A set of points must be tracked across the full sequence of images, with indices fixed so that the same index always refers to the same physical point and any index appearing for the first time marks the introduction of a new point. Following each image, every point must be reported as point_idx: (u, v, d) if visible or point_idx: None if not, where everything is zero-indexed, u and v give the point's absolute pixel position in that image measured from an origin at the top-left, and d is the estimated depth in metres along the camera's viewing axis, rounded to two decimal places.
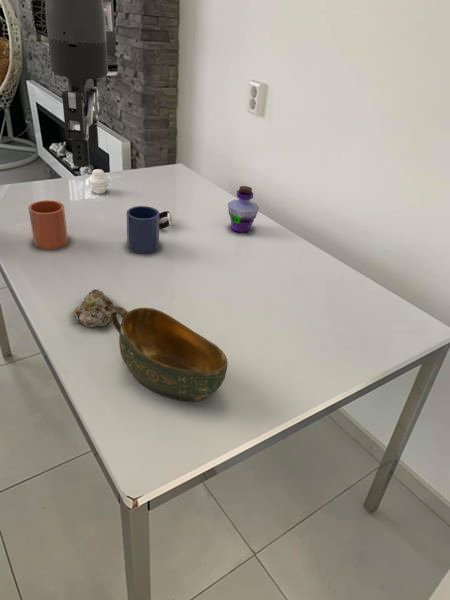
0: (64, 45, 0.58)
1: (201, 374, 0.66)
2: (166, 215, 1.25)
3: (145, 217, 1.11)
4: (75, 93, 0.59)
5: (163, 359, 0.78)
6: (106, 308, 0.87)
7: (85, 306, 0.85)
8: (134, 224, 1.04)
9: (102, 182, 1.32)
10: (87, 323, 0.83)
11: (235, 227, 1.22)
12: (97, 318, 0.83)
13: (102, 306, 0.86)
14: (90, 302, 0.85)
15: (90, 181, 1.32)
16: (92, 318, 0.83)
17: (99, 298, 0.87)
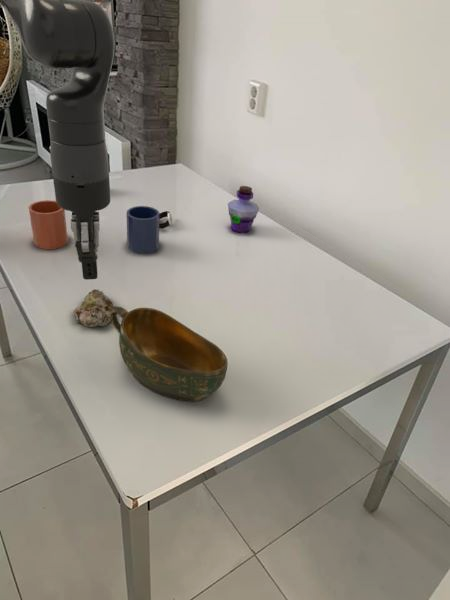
0: (72, 186, 0.60)
1: (201, 374, 0.66)
2: (166, 215, 1.25)
3: (145, 217, 1.11)
4: (88, 245, 0.63)
5: (163, 359, 0.78)
6: (106, 308, 0.87)
7: (85, 306, 0.85)
8: (134, 224, 1.04)
9: None
10: (87, 323, 0.83)
11: (235, 227, 1.22)
12: (97, 318, 0.83)
13: (102, 306, 0.86)
14: (90, 302, 0.85)
15: None
16: (92, 318, 0.83)
17: (99, 298, 0.87)
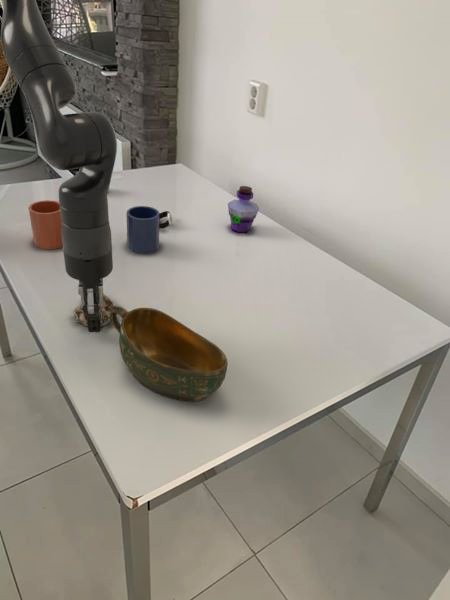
0: (80, 261, 0.70)
1: (201, 374, 0.66)
2: (166, 215, 1.25)
3: (145, 217, 1.11)
4: (93, 309, 0.72)
5: (163, 359, 0.78)
6: (106, 308, 0.87)
7: None
8: (134, 224, 1.04)
9: None
10: (87, 323, 0.83)
11: (235, 227, 1.22)
12: None
13: (102, 306, 0.86)
14: None
15: None
16: None
17: None
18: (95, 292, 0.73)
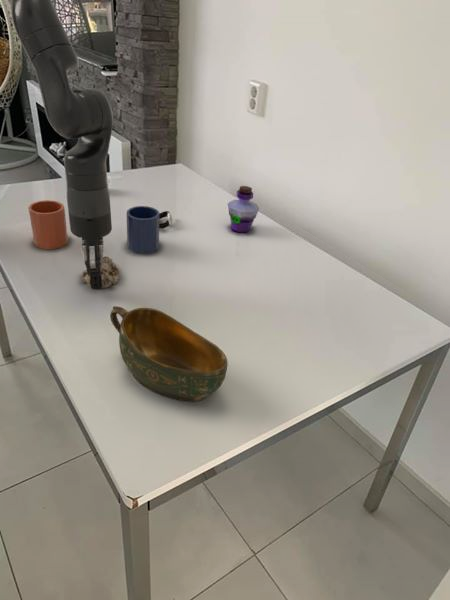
0: (83, 220, 0.80)
1: (201, 374, 0.66)
2: (166, 215, 1.25)
3: (145, 217, 1.11)
4: (95, 263, 0.83)
5: (163, 359, 0.78)
6: (110, 273, 0.97)
7: None
8: (134, 224, 1.04)
9: None
10: None
11: (235, 227, 1.22)
12: None
13: (107, 271, 0.97)
14: None
15: None
16: None
17: (106, 263, 0.98)
18: (96, 249, 0.83)
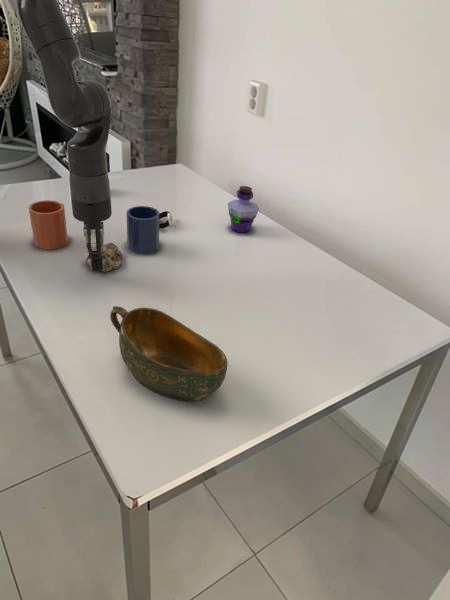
0: (84, 204, 0.86)
1: (201, 374, 0.66)
2: (166, 215, 1.25)
3: (145, 217, 1.11)
4: (96, 245, 0.88)
5: (163, 359, 0.78)
6: (113, 258, 1.02)
7: None
8: (134, 224, 1.04)
9: None
10: (91, 266, 0.99)
11: (235, 227, 1.22)
12: None
13: (109, 256, 1.02)
14: None
15: None
16: None
17: (110, 249, 1.03)
18: (97, 232, 0.89)
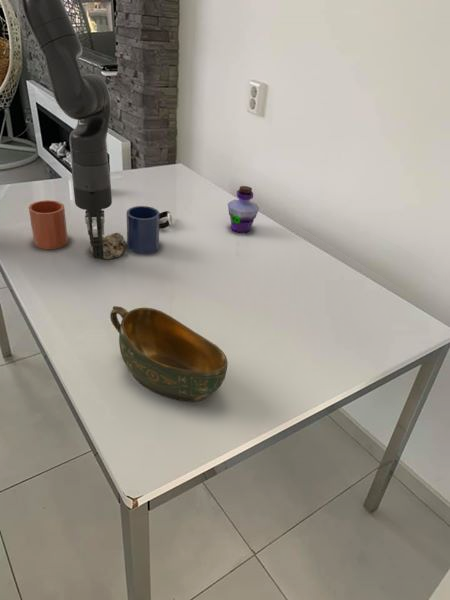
0: (86, 193, 0.90)
1: (201, 374, 0.66)
2: (166, 215, 1.25)
3: (145, 217, 1.11)
4: (97, 232, 0.93)
5: (163, 359, 0.78)
6: (115, 247, 1.06)
7: None
8: (134, 224, 1.04)
9: None
10: None
11: (235, 227, 1.22)
12: None
13: (112, 244, 1.06)
14: (103, 238, 1.06)
15: None
16: None
17: (113, 238, 1.07)
18: (98, 219, 0.93)
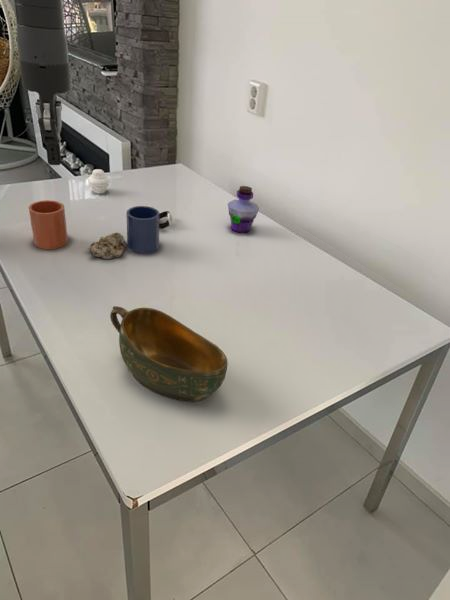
0: (35, 67, 0.70)
1: (201, 374, 0.66)
2: (166, 215, 1.25)
3: (145, 217, 1.11)
4: (49, 121, 0.73)
5: (163, 359, 0.78)
6: (115, 247, 1.06)
7: (99, 240, 1.06)
8: (134, 224, 1.04)
9: (102, 182, 1.32)
10: (93, 252, 1.04)
11: (235, 227, 1.22)
12: (101, 251, 1.04)
13: (112, 244, 1.06)
14: (103, 238, 1.06)
15: (90, 181, 1.32)
16: (97, 249, 1.03)
17: (113, 238, 1.07)
18: (51, 106, 0.73)
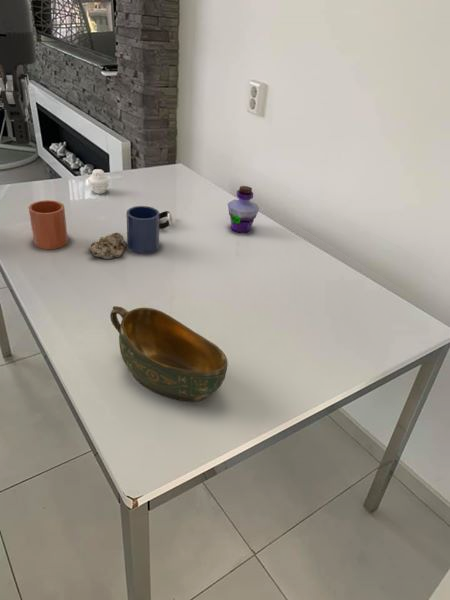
0: None
1: (201, 374, 0.66)
2: (166, 215, 1.25)
3: (145, 217, 1.11)
4: (12, 94, 0.68)
5: (163, 359, 0.78)
6: (115, 247, 1.06)
7: (99, 240, 1.06)
8: (134, 224, 1.04)
9: (102, 182, 1.32)
10: (93, 252, 1.04)
11: (235, 227, 1.22)
12: (101, 251, 1.04)
13: (112, 244, 1.06)
14: (103, 238, 1.06)
15: (90, 181, 1.32)
16: (97, 249, 1.03)
17: (113, 238, 1.07)
18: (15, 78, 0.69)
